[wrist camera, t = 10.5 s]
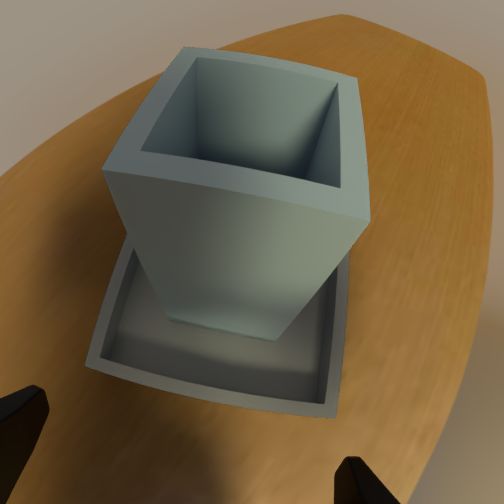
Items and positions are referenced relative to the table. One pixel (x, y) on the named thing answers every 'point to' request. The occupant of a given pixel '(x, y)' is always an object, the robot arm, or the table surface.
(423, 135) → the table surface
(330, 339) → the shallow crate
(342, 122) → the slim crate
